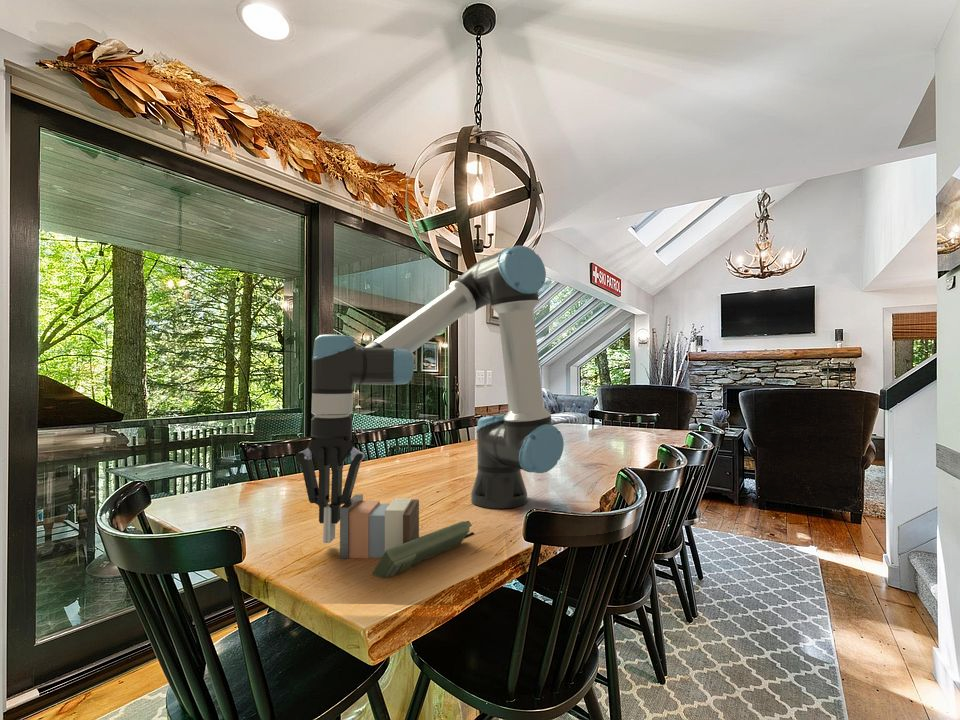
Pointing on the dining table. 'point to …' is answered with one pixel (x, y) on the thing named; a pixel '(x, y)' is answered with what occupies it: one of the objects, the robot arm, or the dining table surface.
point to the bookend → (347, 524)
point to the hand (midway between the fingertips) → (329, 540)
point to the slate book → (377, 531)
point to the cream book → (395, 522)
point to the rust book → (360, 529)
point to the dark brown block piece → (411, 522)
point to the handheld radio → (421, 549)
